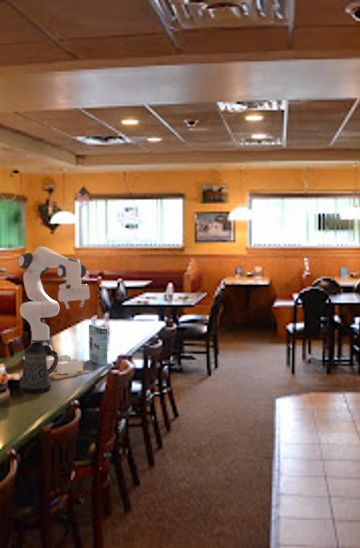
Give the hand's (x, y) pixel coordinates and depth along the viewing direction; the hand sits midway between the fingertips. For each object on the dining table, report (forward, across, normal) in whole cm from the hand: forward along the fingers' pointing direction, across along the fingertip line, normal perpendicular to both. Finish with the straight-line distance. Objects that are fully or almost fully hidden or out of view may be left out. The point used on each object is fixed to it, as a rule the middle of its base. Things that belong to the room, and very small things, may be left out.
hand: (74, 307), depth 383 cm
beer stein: (+37, +41, +31) cm, 64 cm away
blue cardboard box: (+37, -19, -5) cm, 42 cm away
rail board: (+37, +12, +7) cm, 40 cm away
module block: (+35, +12, +7) cm, 38 cm away
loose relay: (+37, -4, -1) cm, 38 cm away
